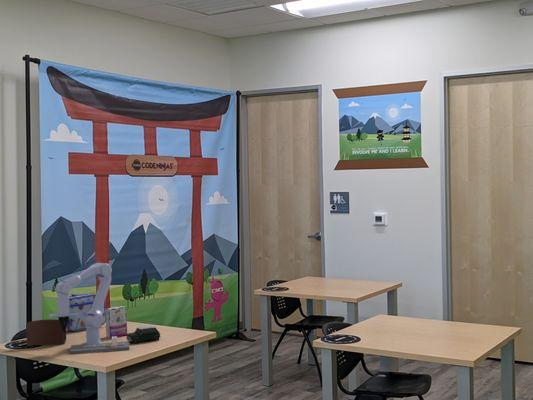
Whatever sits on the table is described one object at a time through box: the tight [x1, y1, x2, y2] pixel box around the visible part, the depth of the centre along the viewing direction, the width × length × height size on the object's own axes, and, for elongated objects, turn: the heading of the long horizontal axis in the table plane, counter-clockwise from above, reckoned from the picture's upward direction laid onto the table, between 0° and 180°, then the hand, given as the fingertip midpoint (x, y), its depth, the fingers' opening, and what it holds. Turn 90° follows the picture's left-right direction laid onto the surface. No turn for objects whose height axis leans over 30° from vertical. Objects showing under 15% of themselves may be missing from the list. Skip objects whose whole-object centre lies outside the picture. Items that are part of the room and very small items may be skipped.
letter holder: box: [25, 318, 67, 347], centre depth 389 cm, size 10×20×14 cm, turn 100°
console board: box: [68, 340, 130, 355], centre depth 371 cm, size 14×30×2 cm, turn 101°
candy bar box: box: [105, 305, 128, 339], centre depth 403 cm, size 11×5×16 cm, turn 131°
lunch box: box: [60, 293, 107, 333], centre depth 427 cm, size 28×10×22 cm, turn 133°
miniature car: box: [125, 325, 161, 345], centre depth 389 cm, size 9×18×8 cm, turn 121°
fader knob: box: [111, 336, 118, 346], centre depth 371 cm, size 4×2×4 cm, turn 11°
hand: (64, 331), depth 371 cm, fingers closed
